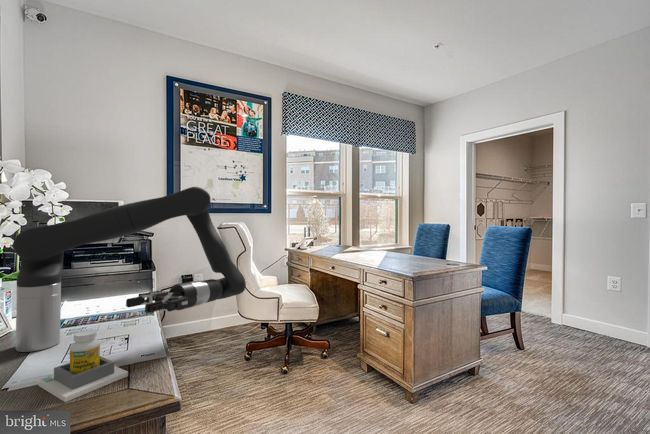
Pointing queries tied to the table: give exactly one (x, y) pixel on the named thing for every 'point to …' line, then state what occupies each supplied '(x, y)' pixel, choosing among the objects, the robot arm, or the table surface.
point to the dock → (81, 380)
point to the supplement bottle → (84, 352)
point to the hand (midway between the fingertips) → (136, 306)
